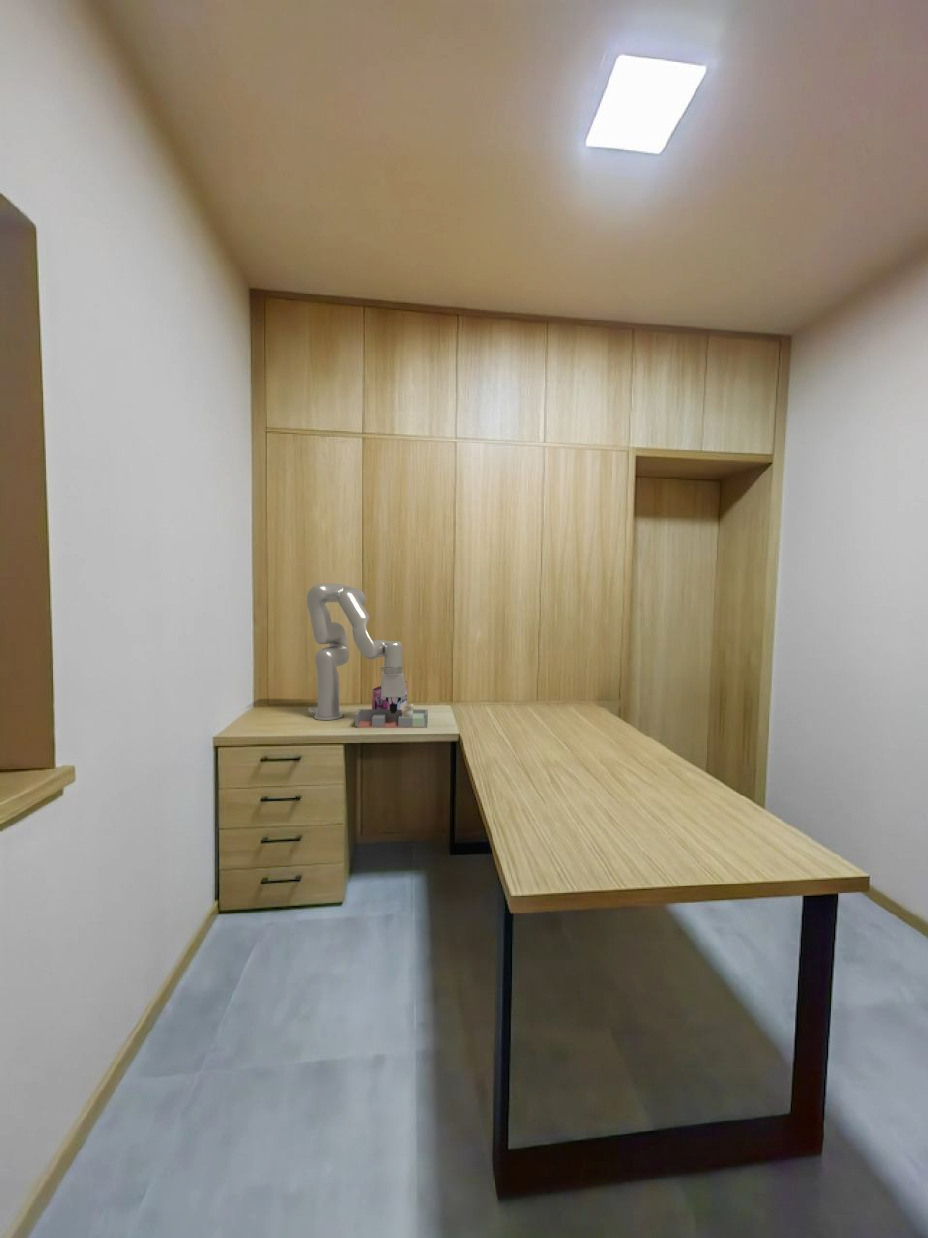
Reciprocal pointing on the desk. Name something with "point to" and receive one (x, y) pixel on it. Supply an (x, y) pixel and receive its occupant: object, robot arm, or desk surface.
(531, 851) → the desk surface
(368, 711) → the track
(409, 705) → the cream block
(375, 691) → the gum box
